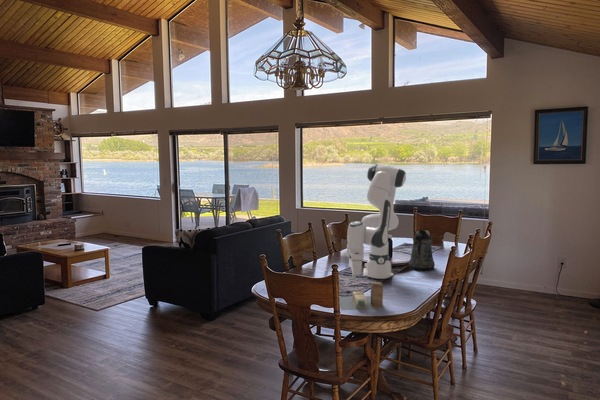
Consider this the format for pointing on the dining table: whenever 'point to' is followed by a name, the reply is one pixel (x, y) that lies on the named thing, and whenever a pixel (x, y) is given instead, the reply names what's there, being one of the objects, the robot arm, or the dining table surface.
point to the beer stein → (421, 253)
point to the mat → (348, 304)
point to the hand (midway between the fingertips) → (354, 278)
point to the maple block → (359, 299)
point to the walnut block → (376, 294)
